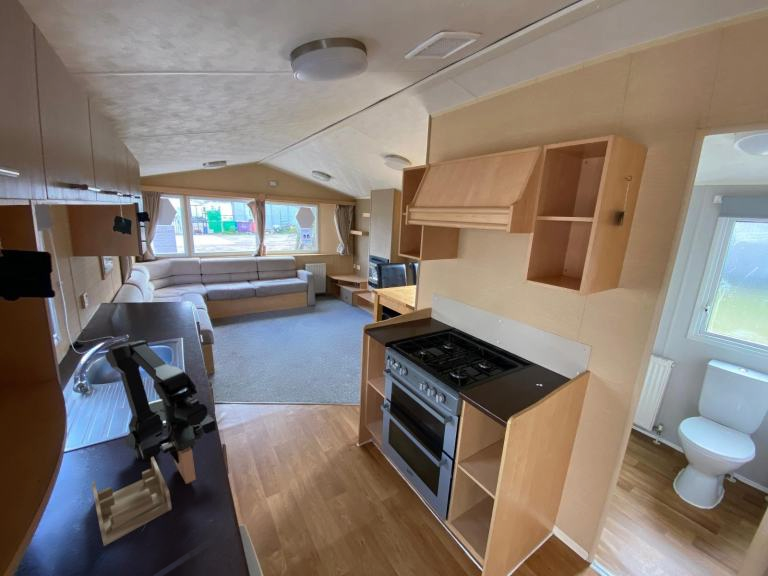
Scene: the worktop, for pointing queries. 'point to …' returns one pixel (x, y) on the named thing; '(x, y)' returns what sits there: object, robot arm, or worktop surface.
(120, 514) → the offcut upper
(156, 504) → the offcut lower
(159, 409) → the picture frame
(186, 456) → the orange tan rectangular slab
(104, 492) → the rack
